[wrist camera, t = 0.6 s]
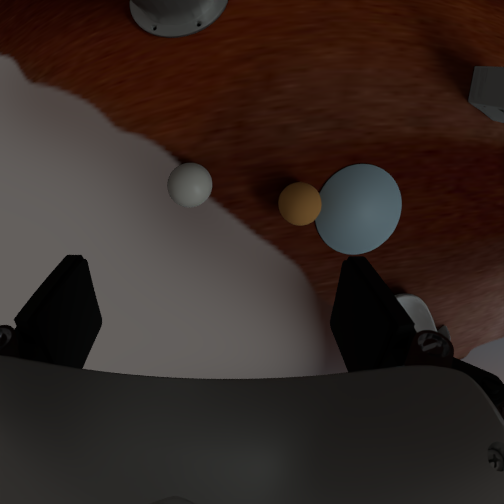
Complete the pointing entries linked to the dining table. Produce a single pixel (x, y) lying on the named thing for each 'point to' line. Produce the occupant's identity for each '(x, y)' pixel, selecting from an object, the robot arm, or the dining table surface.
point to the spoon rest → (419, 314)
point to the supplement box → (488, 91)
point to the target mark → (358, 209)
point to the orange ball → (300, 203)
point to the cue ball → (189, 184)
